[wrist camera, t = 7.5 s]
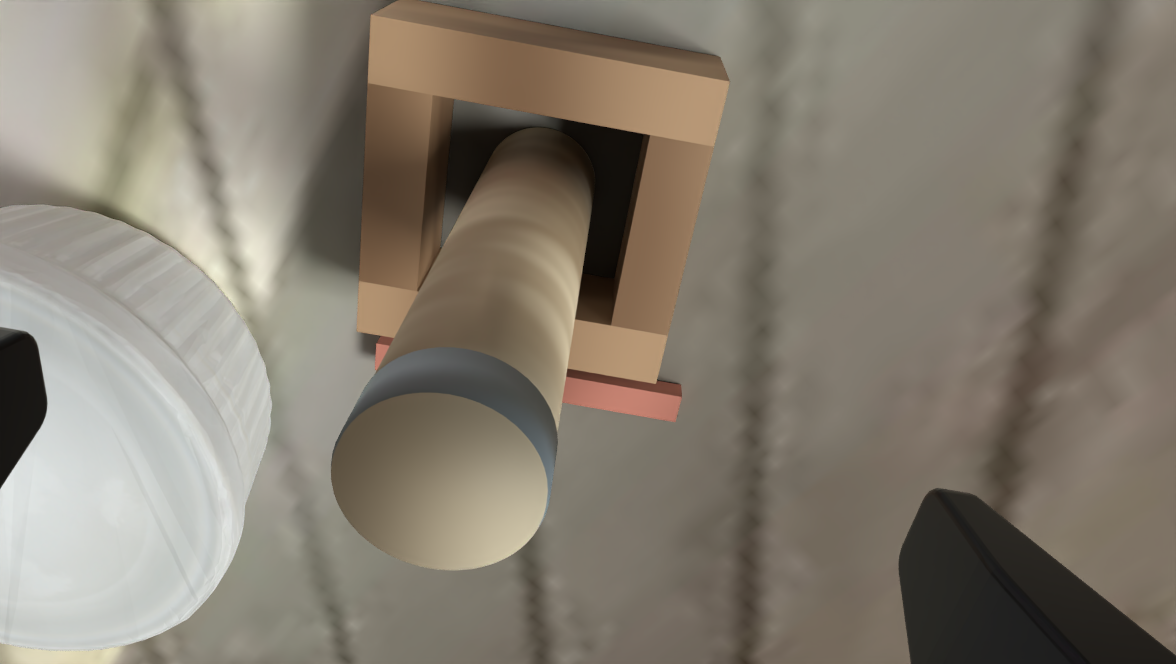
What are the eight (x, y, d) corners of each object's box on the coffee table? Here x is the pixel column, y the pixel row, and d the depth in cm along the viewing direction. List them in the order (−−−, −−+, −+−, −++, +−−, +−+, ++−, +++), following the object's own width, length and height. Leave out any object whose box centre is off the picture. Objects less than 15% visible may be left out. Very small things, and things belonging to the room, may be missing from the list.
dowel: (605, 137, 20) (564, 417, 10) (586, 242, 21) (532, 587, 11) (492, 116, 20) (331, 376, 10) (479, 223, 21) (326, 552, 11)
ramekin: (-181, 178, 22) (-406, 263, 17) (244, 145, 21) (127, 225, 16) (2, 523, 27) (-132, 660, 22) (348, 511, 26) (283, 652, 21)
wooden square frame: (764, 65, 19) (780, 90, 17) (674, 409, 23) (677, 466, 21) (403, -3, 19) (370, 14, 16) (381, 358, 23) (353, 410, 21)
